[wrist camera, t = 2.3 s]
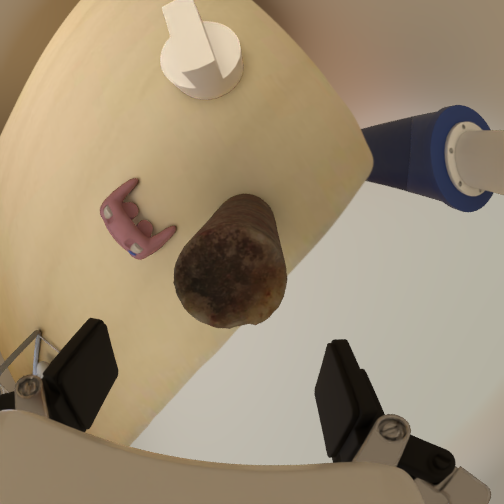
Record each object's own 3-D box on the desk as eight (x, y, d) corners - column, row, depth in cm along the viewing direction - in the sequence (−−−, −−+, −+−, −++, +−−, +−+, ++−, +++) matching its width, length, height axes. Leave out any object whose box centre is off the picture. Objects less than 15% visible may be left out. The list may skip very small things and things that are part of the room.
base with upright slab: (252, 87, 30) (249, 52, 19) (184, 109, 31) (150, 88, 20) (232, 32, 27) (221, -15, 16) (167, 54, 28) (132, 18, 17)
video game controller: (123, 190, 36) (88, 213, 31) (136, 172, 33) (98, 194, 28) (165, 242, 38) (134, 271, 33) (182, 229, 36) (149, 259, 30)
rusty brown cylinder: (220, 187, 34) (174, 220, 15) (278, 195, 34) (303, 238, 15) (214, 244, 37) (172, 331, 18) (269, 252, 37) (279, 346, 18)
